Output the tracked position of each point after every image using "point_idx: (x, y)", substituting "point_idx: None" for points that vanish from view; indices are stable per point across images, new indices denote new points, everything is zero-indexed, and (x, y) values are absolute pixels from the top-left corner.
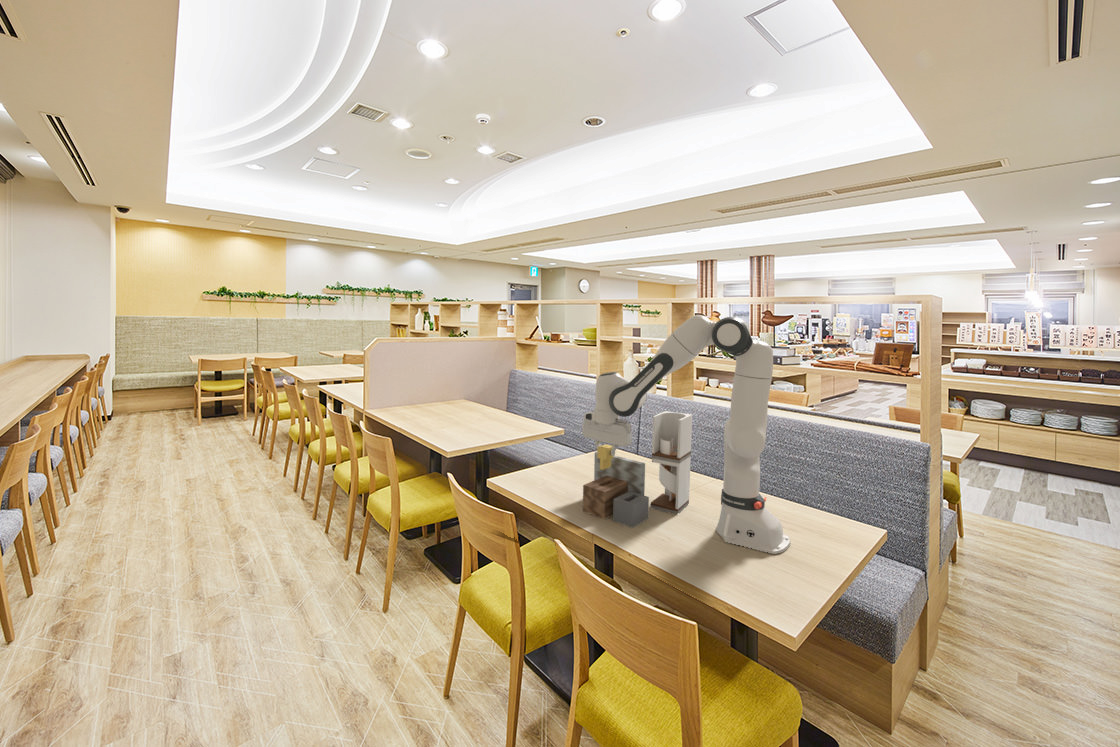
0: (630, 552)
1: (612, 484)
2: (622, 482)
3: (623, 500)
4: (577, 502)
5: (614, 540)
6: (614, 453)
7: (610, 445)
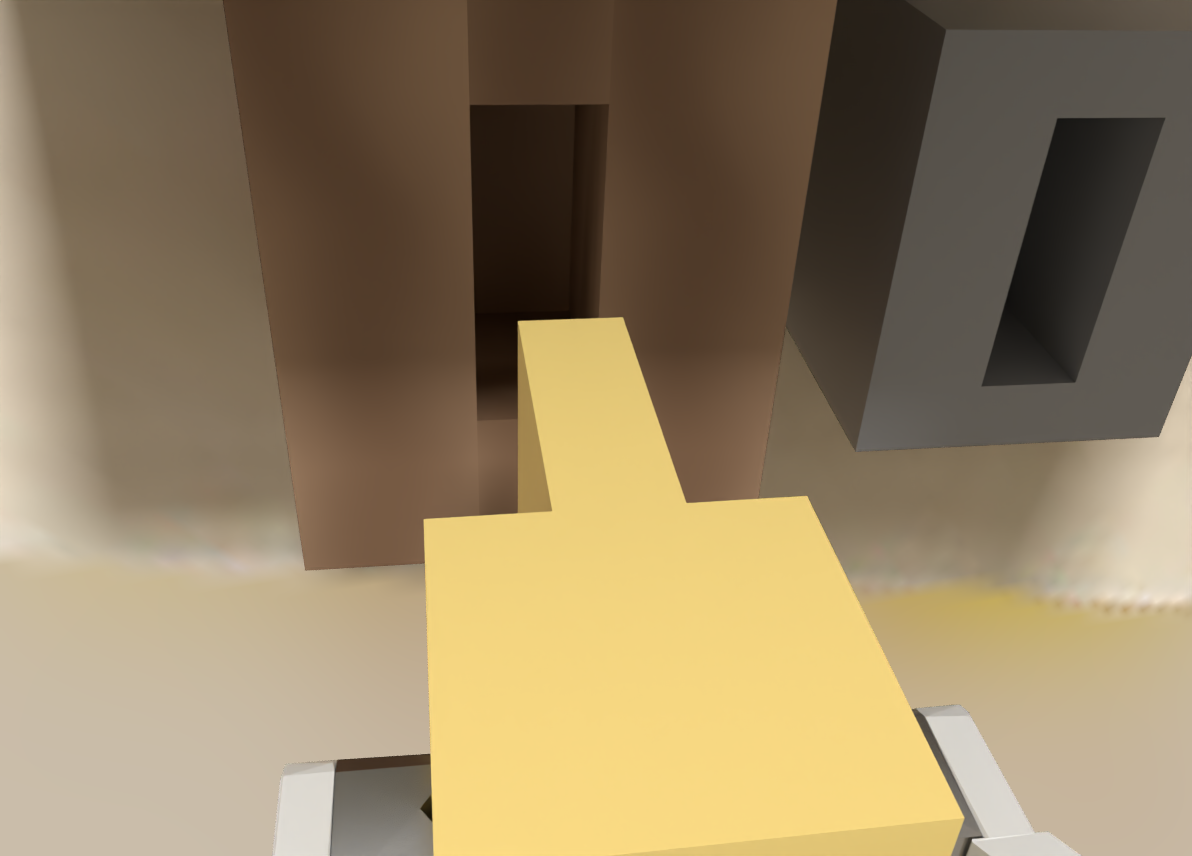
0: (1139, 603)
1: (669, 233)
2: (778, 3)
3: (996, 401)
4: (47, 187)
5: (962, 561)
6: (975, 764)
7: (732, 851)
